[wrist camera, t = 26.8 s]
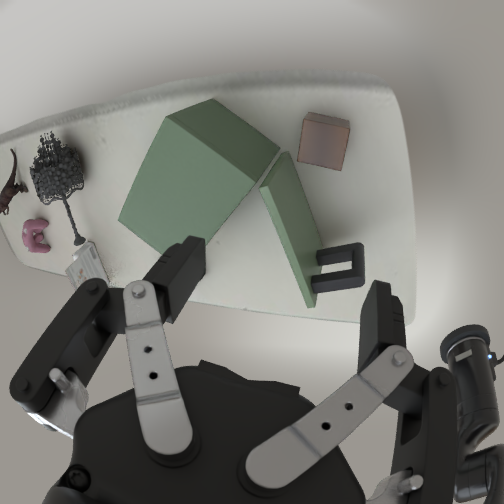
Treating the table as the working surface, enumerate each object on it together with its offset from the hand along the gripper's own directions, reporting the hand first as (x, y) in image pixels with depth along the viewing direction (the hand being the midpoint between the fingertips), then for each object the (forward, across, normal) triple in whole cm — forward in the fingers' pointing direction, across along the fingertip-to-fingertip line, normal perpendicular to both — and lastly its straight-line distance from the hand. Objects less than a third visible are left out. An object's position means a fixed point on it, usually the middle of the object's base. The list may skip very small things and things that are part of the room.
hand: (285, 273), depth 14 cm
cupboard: (+27, +14, +7) cm, 31 cm away
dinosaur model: (+27, +64, +14) cm, 71 cm away
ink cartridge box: (+27, +41, +33) cm, 60 cm away
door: (+27, -2, +9) cm, 28 cm away
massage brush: (+27, +42, +13) cm, 52 cm away
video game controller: (+27, +60, +29) cm, 72 cm away
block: (+27, 0, 0) cm, 27 cm away
